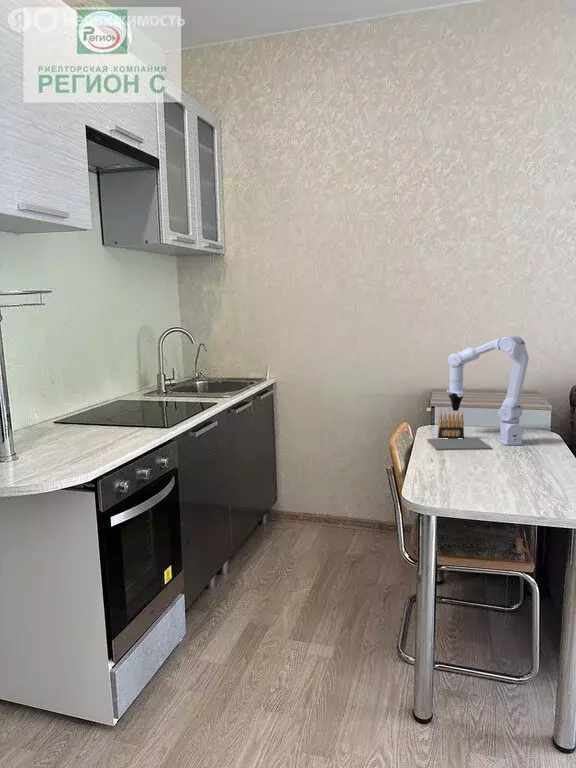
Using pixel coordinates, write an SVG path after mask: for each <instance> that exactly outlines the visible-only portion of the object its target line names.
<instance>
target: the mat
mask: <svg viewBox="0 0 576 768" xmlns="http://www.w3.org/2000/svg"><path fill="white" fill-rule="evenodd" d="M427 440H428V441H427ZM426 441H427V443H429V444H430V445H431V446H432V447H433V448H434V449H435V450H436V451H459V450H460V451H464V450H465V451H467V450H468V451H470V450H471V451H472V450H473V451H475V450H477V451H478V450H479V451H481V450H493V447H492V446H491V445H489V444H488V443H486V442H484V441H483V440H481V438H478V437H477V438H473V437H472V438H469V437H467V438H465V437H464V439H438V438H427V439H426Z"/></svg>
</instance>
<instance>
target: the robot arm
mask: <svg viewBox="0 0 576 768" xmlns="http://www.w3.org/2000/svg"><path fill="white" fill-rule="evenodd" d="M494 350H497V351H499V350H501V351H502V352H503V353H505V354H506V355H508V356H509V357H510V358H511V360H512V361H513V363H512V368H511V373H510V378H509V382H508V387H507V392H506V396H505V399H504V400H503V402H502V405H501V407H500V408H499V410H498V412H497V414H498V418H499V419H500V424H499V425H500V428H499V429H500V431H499V437H500V438H496V441H498V442H499V443H501V444H503V445H504V446H523V445H525V443H523V428H522V426H520V417H521V416H522V415H523V409H522V404H523V403H522V400H521V397H522V396H521V395H522V391H523V386H524V382H525V378H526V373H527V368H528V363H529V353H528V351H527V348H526V341H525V340H524V339H523V338H522V337H521V336H519V335H512V336H503V337H501V338H496V339H493V340H492V341H489V342H487V343H485V344H483V345H480V346H478V347H476V346H472V345H470V346H469V345H468V346H467V347H466V349H463V350H458V351H457V353H455V352H454V353H453V352H452V353H451V354H450V355H448V357H447V363H448V365H449V389H446V392H447V393H450V394H448V398H449V399H450V403H451V409H452V412H453V411H454V412H455V411H456V412H457V411H458V412H459V409H460V405H461V402H462V401H463V398H464V390H463V389H464V366H465V364H468V363H471V362H472V361H475V360H478V359H479V358H480V356H481V355H482V354H486V353H488V352H491V351H494Z"/></svg>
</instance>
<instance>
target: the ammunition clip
mask: <svg viewBox="0 0 576 768" xmlns="http://www.w3.org/2000/svg"><path fill="white" fill-rule="evenodd" d="M455 413H456V414H455ZM459 414H460V415H459ZM464 425H465V424H464V412H463V411H461V412H460V413H459V410H458V411H456V412H455V411H453V410H452V414H451V412H450V411H448V413H447V411H444V413H443V411H440V413H439V416H438V429H437V430H438V433H437V439H438V438H448V439H458V438H465V433H464V431H465V428H464Z"/></svg>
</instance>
